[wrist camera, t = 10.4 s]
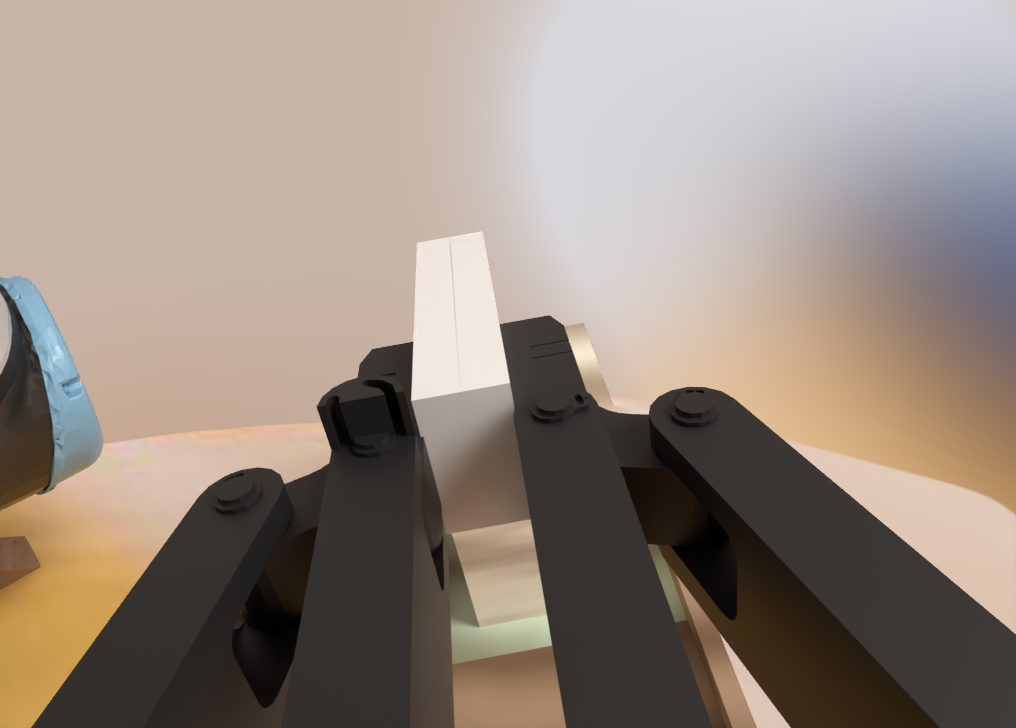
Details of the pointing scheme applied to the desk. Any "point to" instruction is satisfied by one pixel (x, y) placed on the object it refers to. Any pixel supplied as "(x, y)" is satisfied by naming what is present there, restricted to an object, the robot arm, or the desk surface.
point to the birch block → (518, 533)
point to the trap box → (532, 671)
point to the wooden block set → (15, 559)
